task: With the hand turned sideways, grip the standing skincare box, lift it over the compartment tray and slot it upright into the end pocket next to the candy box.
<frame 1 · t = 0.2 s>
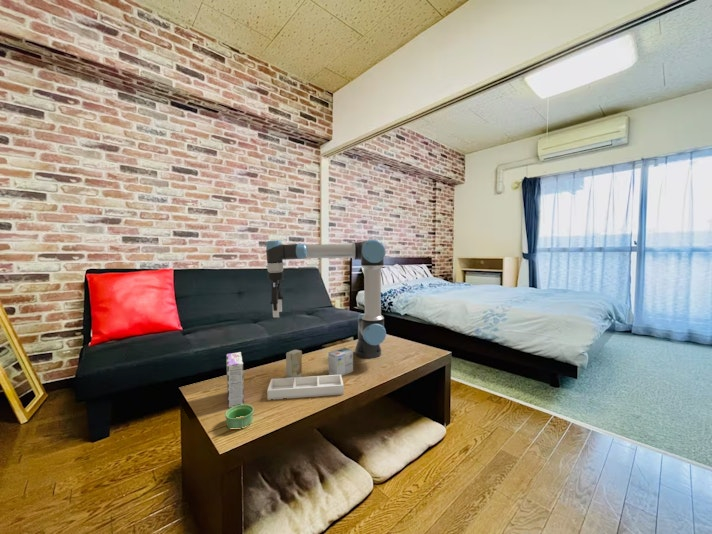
hand: (277, 314, 144), 27 cm above the table, tool pointing down, fingers open, 13 cm apart
ramekin: (239, 424, 99), on the table
skincare box: (294, 377, 135), on the table
light bulb box: (340, 373, 140), on the table
candy box: (235, 398, 116), on the table
compartment tray: (306, 390, 122), on the table
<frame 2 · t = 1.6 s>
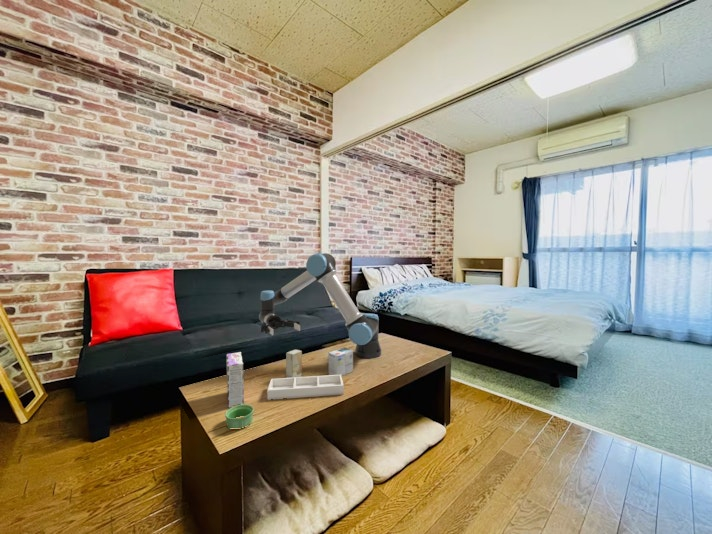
hand: (286, 330, 142), 20 cm above the table, tool horizontal, fingers open, 13 cm apart
nothing on the table moved.
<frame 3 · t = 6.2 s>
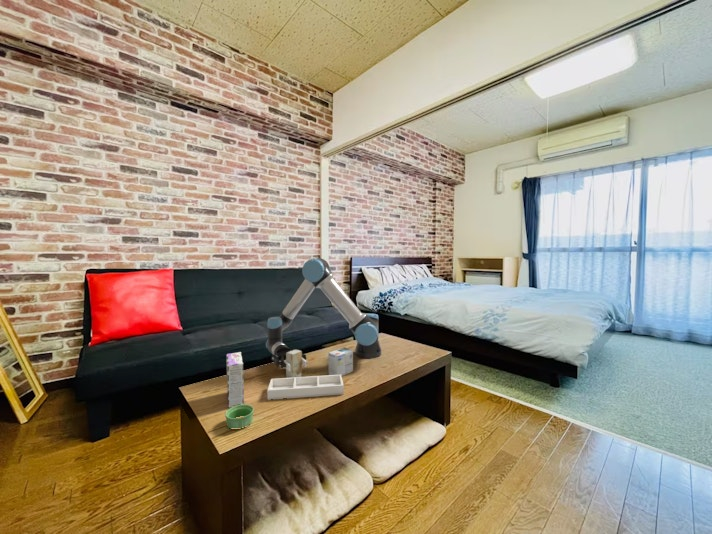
hand: (298, 366, 130), 7 cm above the table, tool horizontal, fingers closed on skincare box, 7 cm apart
skincare box: (294, 377, 135), on the table, touching gripper
everything else where it was.
when the fingers open (10 cm above the table, at t = 11.1 s): skincare box drops 2 cm, resting on compartment tray.
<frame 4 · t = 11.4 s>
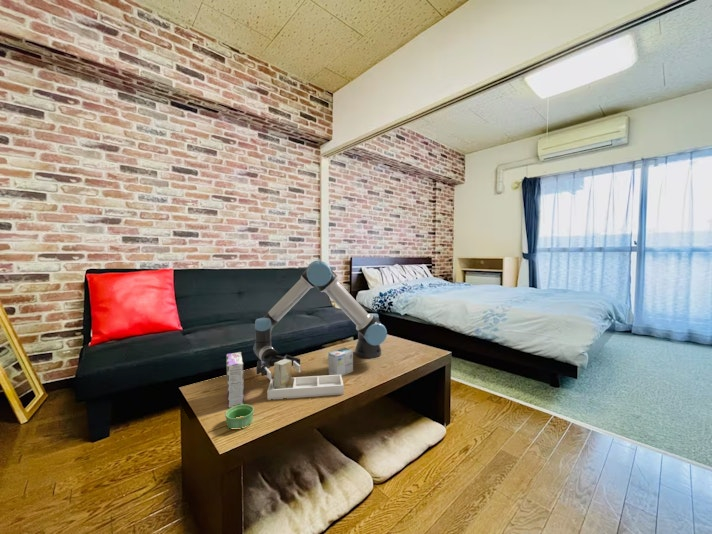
hand: (285, 372, 117), 10 cm above the table, tool horizontal, fingers open, 11 cm apart
skincare box: (283, 390, 121), point 1 cm above the table, touching compartment tray
everything else where it was.
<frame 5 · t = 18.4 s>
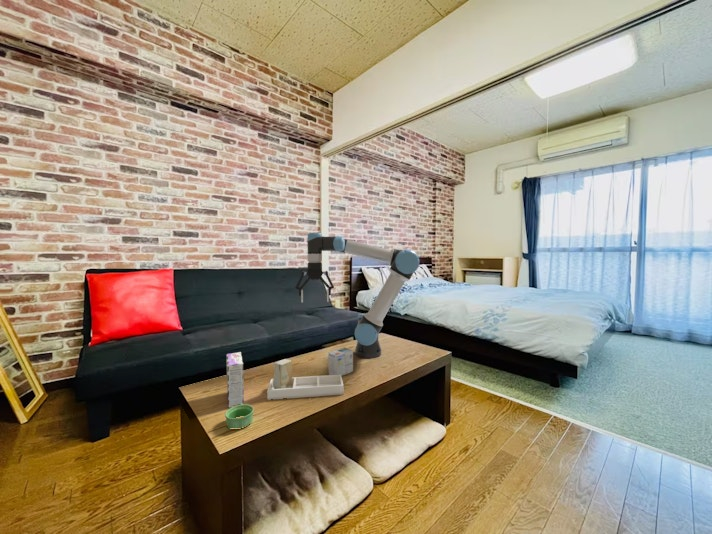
hand: (315, 301, 154), 32 cm above the table, tool pointing down, fingers open, 13 cm apart
nothing on the table moved.
at the end: skincare box inside the target area (0.3 cm from its centre), point 0.6 cm above the table; skincare box tilted 0°; the gripper is holding nothing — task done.
